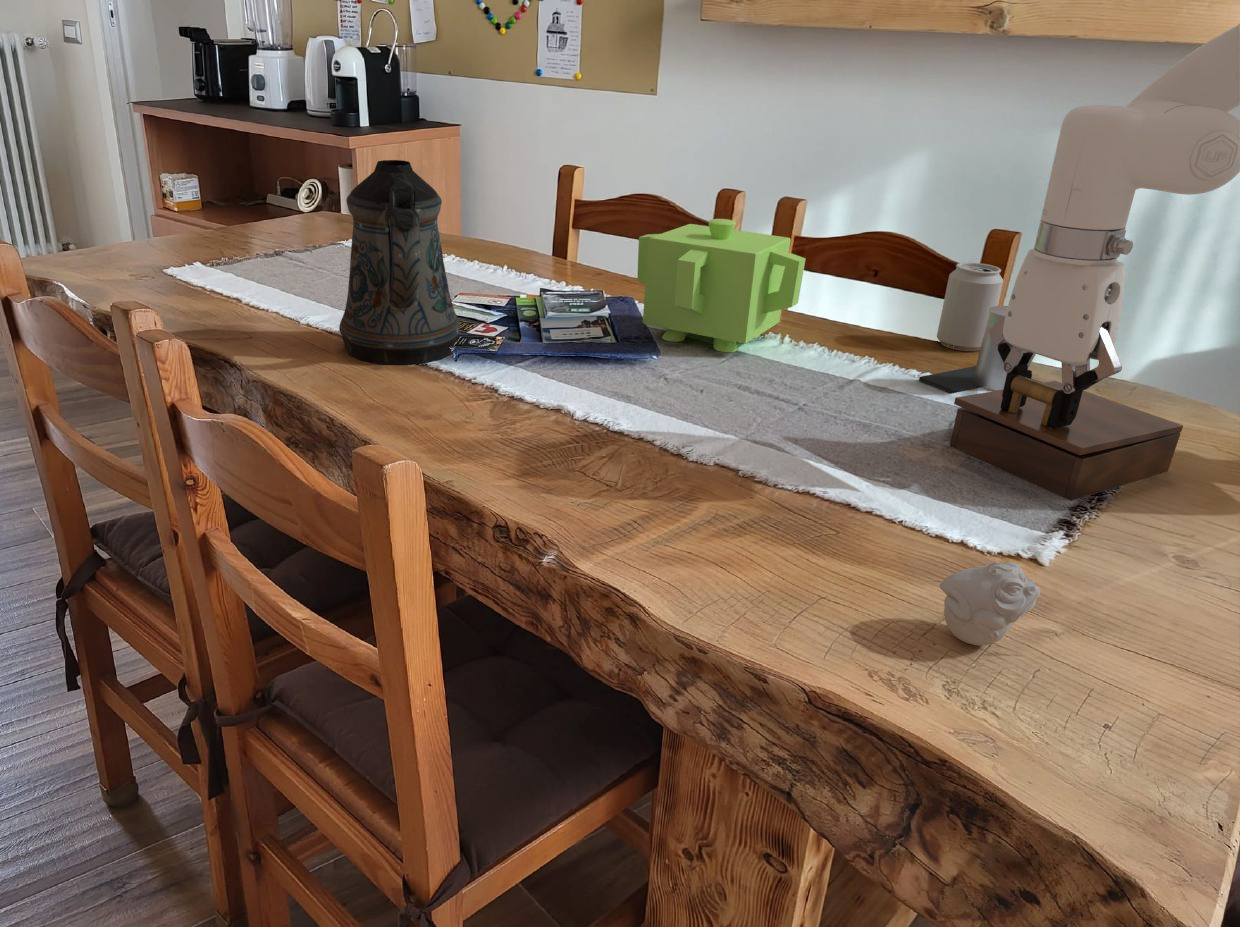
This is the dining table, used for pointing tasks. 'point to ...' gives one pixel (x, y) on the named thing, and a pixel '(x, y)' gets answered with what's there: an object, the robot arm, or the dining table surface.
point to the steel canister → (990, 356)
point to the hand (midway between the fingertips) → (1035, 415)
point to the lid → (1088, 432)
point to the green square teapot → (717, 282)
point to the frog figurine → (987, 601)
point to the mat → (953, 380)
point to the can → (968, 305)
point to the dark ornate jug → (397, 272)
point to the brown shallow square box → (1059, 457)
